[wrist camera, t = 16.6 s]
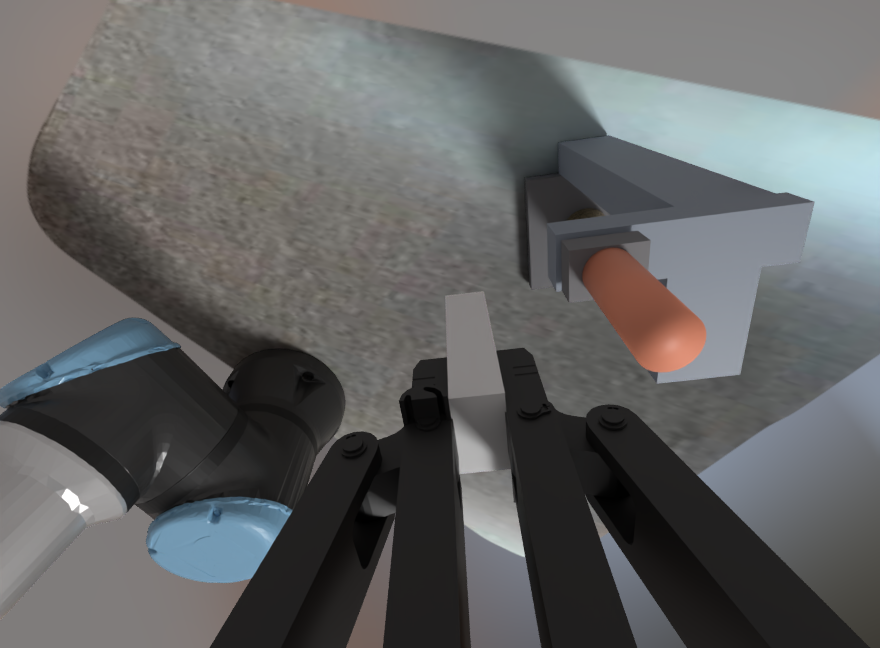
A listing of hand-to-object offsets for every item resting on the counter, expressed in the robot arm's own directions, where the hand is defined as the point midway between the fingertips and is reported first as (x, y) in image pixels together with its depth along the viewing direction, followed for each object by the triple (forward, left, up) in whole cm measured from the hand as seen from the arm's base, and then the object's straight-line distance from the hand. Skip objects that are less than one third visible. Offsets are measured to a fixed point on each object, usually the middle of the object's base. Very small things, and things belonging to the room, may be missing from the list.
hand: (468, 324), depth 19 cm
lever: (+7, 0, -5) cm, 9 cm away
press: (+12, -6, -33) cm, 36 cm away
